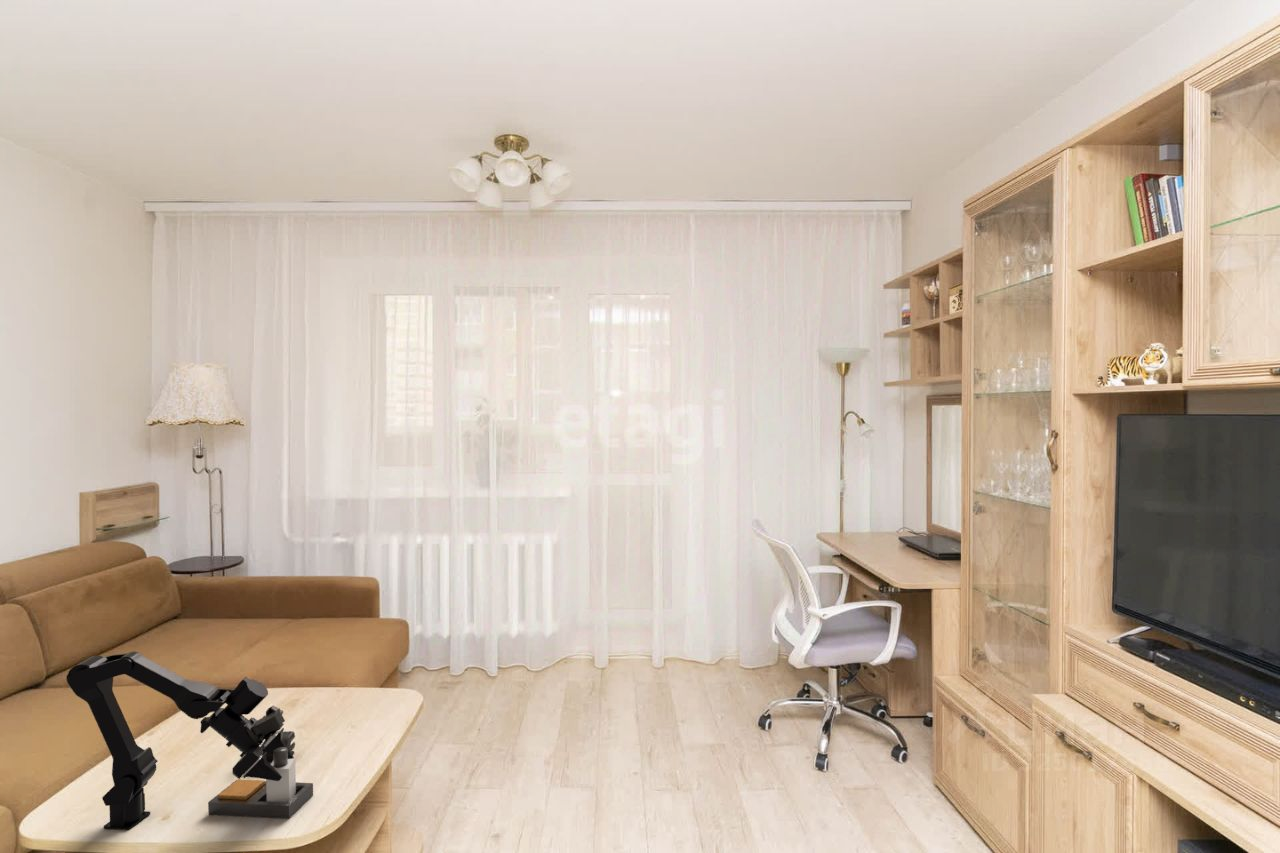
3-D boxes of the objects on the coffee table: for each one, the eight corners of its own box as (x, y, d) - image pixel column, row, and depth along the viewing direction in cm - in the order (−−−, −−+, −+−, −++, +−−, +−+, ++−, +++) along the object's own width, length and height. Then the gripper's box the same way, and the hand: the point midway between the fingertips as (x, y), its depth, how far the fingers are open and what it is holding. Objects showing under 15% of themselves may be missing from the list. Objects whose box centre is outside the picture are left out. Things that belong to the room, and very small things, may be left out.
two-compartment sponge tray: (289, 818, 164) (288, 801, 164) (208, 814, 166) (208, 798, 166) (313, 795, 174) (312, 779, 174) (236, 791, 176) (236, 775, 176)
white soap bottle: (266, 810, 166) (265, 756, 166) (273, 799, 171) (272, 746, 171) (289, 808, 167) (288, 754, 167) (296, 796, 172) (294, 744, 172)
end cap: (247, 768, 188) (246, 742, 187) (259, 755, 195) (258, 730, 195) (286, 765, 189) (285, 740, 188) (296, 752, 196) (296, 728, 195)
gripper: (246, 719, 159) (300, 762, 161) (273, 687, 177) (321, 726, 179) (209, 757, 157) (263, 800, 160) (240, 720, 176) (289, 760, 178)
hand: (286, 769), depth 169 cm, fingers open, 9 cm apart
